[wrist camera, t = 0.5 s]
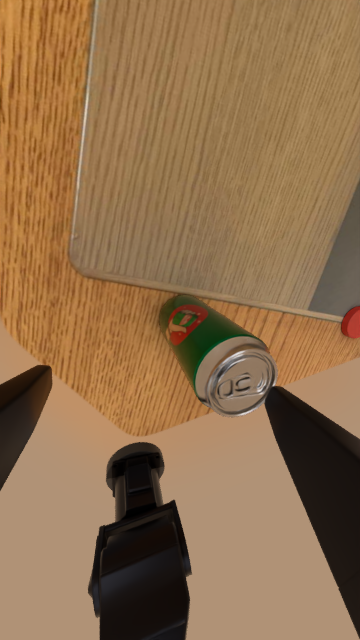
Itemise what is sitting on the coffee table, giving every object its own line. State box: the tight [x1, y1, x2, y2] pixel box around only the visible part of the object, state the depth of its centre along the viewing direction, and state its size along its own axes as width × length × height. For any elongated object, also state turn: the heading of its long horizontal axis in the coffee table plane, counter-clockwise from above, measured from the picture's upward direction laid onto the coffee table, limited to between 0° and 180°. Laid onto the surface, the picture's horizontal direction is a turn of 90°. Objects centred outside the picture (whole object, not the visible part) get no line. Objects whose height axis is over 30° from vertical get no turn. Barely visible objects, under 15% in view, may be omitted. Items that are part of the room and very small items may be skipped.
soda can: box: [159, 295, 278, 417], centre depth 17 cm, size 5×5×12 cm
